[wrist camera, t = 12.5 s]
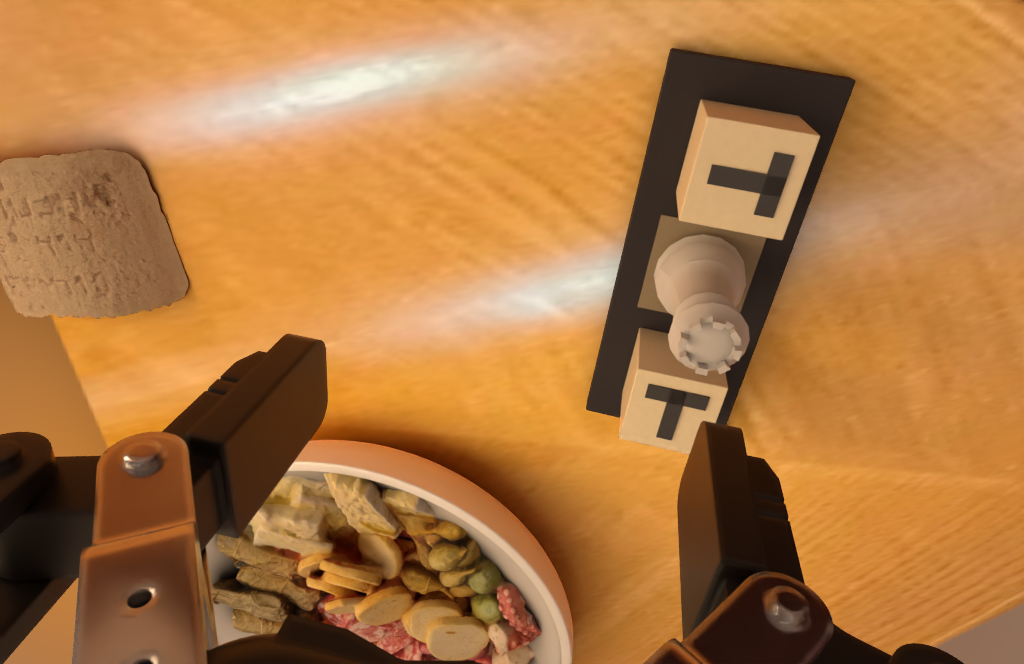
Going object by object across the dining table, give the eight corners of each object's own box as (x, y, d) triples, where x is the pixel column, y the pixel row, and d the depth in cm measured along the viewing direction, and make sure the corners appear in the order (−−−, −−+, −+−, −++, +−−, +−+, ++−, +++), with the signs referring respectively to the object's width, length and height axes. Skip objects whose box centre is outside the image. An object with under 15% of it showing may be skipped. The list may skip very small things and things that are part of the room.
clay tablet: (17, 306, 45) (-18, 324, 42) (-59, 159, 40) (-103, 170, 38) (197, 299, 41) (170, 318, 39) (137, 139, 37) (102, 150, 35)
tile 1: (639, 327, 35) (637, 369, 31) (720, 344, 35) (728, 389, 31) (622, 392, 37) (618, 440, 33) (698, 409, 37) (703, 459, 33)
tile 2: (700, 99, 29) (707, 116, 25) (799, 115, 29) (821, 136, 25) (675, 192, 31) (678, 221, 28) (767, 209, 31) (783, 241, 27)
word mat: (670, 47, 29) (671, 49, 28) (850, 77, 29) (857, 80, 28) (587, 401, 39) (585, 411, 38) (719, 430, 38) (720, 442, 37)
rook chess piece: (639, 292, 34) (635, 370, 27) (678, 217, 32) (685, 281, 25) (717, 324, 34) (732, 411, 27) (761, 252, 32) (791, 326, 25)
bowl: (157, 557, 55) (87, 638, 48) (317, 334, 41) (249, 404, 34) (435, 736, 60) (407, 832, 53) (666, 593, 46) (668, 700, 39)
